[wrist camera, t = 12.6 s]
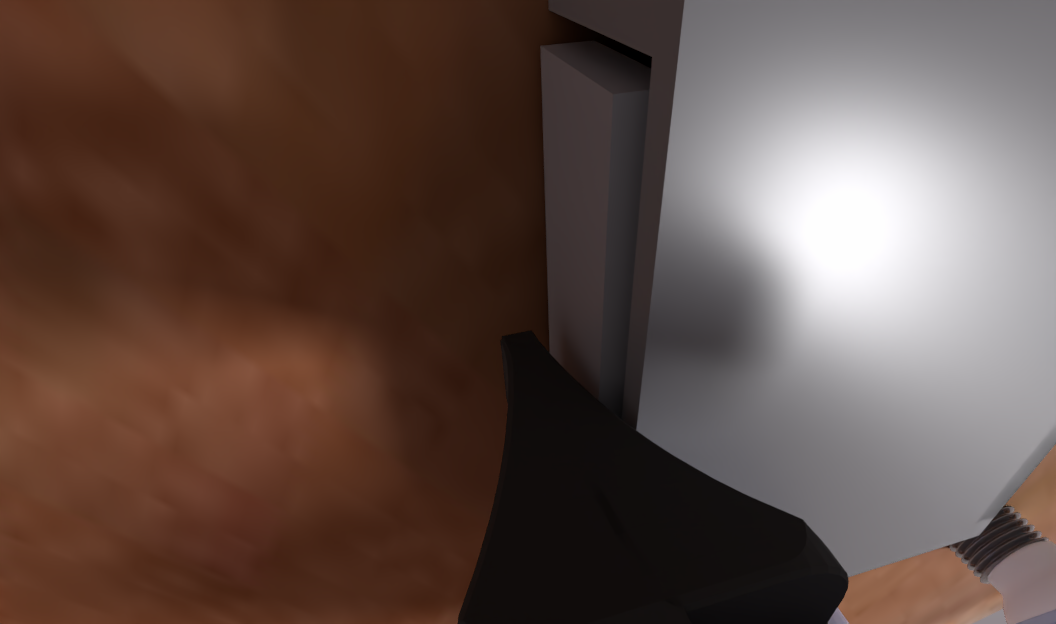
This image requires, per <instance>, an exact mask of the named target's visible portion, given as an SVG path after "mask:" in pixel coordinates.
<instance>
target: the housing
mask: <svg viewBox="0 0 1056 624" xmlns="http://www.w3.org/2000/svg"><path fill="white" fill-rule="evenodd" d="M548 1H549V11H552V12H554V13H556V14H558V15H560V16H563V17H565V18H567V19H569V20H572V21H574V22H576V23H578V24H580V25H583V26H585V27H587V28H589V29H591V30H594V31H596V32H598V33H600V34H602V35H605V36H607V37H609V38H611V39H613V40H616V41H618V42H620V43H622V44H625V45H627V46H629V47H631V48H633V49H636V50H638V51H640V52H642V53H644V54H647V55H649V56H651V57H652V67H651V78H650V90H649V102H648V113H647V125H646V137H645V149H644V160H643V172H642V184H641V196H640V207H639V219H638V231H637V243H636V254H635V266H634V278H633V290H632V301H631V313H630V325H629V336H628V348H627V360H626V372H625V383H624V395H623V407H622V420H623V421H624V422H626V423H627V424H628V425H630V426H631V427H632V428H634V429H635V430H636V431H638V432H639V433H641V434H642V435H644V436H645V437H646V438H648V439H649V440H651V441H652V442H654V443H655V444H657V445H658V446H660V447H661V448H663V449H664V450H666V451H667V452H669V453H670V454H672V455H674V456H675V457H677V458H679V459H681V460H682V461H684V462H686V463H687V464H689V465H691V466H693V467H694V468H696V469H698V470H700V471H701V472H703V473H705V474H707V475H708V476H710V477H712V478H714V479H716V480H718V481H720V482H722V483H724V484H726V485H728V486H729V487H731V488H733V489H735V490H737V491H739V492H741V493H744V494H746V495H748V496H750V497H752V498H755V499H757V500H759V501H762V502H764V503H766V504H768V505H771V506H773V507H775V508H778V509H780V510H782V511H785V512H787V513H789V514H792V515H794V516H796V517H799V518H801V519H803V520H804V521H805V522H806V524H807V525H808V526H809V527H810V528H811V529H812V530H813V531H814V533H815V534H816V535H817V536H818V537H819V538H820V539H821V540H822V541H823V542H824V544H825V545H826V546H827V547H828V549H829V550H830V551H831V552H832V554H833V555H834V557H835V558H836V559H837V561H838V562H839V563H840V564H841V566H842V567H843V568H844V570H845V571H846V572H847V574H848V577H850V576H854V575H857V574H860V573H863V572H866V571H869V570H872V569H876V568H879V567H882V566H885V565H888V564H891V563H894V562H897V561H901V560H904V559H907V558H910V557H913V556H916V555H919V554H923V553H926V552H929V551H932V550H935V549H938V548H941V547H945V546H948V545H951V544H954V543H957V542H960V541H963V540H967V539H970V538H973V537H976V536H979V535H980V534H981V533H982V531H983V530H984V529H985V528H986V527H987V525H988V524H989V523H990V522H991V521H992V519H993V518H994V517H995V516H996V515H997V513H998V512H999V511H1000V510H1001V509H1002V507H1003V506H1004V505H1005V504H1006V503H1007V501H1008V500H1009V499H1010V498H1011V497H1012V496H1013V494H1014V493H1015V492H1016V491H1017V490H1018V488H1019V487H1020V486H1021V485H1022V484H1023V482H1024V481H1025V480H1026V479H1027V478H1028V476H1029V475H1030V474H1031V473H1032V472H1033V470H1034V469H1035V468H1036V467H1037V466H1038V464H1039V463H1040V462H1041V461H1042V460H1043V458H1044V457H1045V456H1046V455H1047V454H1048V453H1049V451H1050V450H1051V449H1052V448H1053V447H1054V445H1055V444H1056V0H548Z"/></svg>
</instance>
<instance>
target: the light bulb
mask: <svg viewBox="0 0 1056 624" xmlns="http://www.w3.org/2000/svg"><path fill="white" fill-rule="evenodd" d="M1020 518H1021V514H1020V513H1018V512H1016V513H1014V508H1013V507H1004V508H1002V509H1001V510H1000V511H999V512H998V513H997V515H996V516H995V517H994V518H993V519H992V521H991V522H990V523H989V524H988V525H987V527H986V528H985V529H984V530H983V531H982V533H981V534H980V535H979V536H976V537H973V538H970V539H967V540H963V541H960V542H957V543H954V544H951V545H950V546H949V548H950V550H951V551H954V552H955V555H956V556H957V557H959V558H961V561H962V563H964V564H968V565H967V567H968V569H969V570H973V571H974V575H975V576H977V577H980V582H982V583H985V584H989V583H991V584H992V585H993V586H994V587H995V588H996V589H997V590H998V591H999V592H1000V593H1001V595H1002V596H1003V610H1004V614H1005V618H1006V622H1007V624H1016V623H1019V622H1021V621H1024V620H1027V619H1030V618H1032V617H1035V616H1038V615H1041V614H1044V613H1046V612H1049V611H1052V610H1055V609H1056V545H1055V544H1054V543H1053V542H1052V541H1049V539H1048V538H1046V537H1042V538H1040V537H1041V535H1042V533H1041V532H1040V531H1034V529H1035V526H1034V525H1027V523H1028V520H1027V519H1020Z"/></svg>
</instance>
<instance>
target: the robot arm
mask: <svg viewBox="0 0 1056 624" xmlns="http://www.w3.org/2000/svg"><path fill="white" fill-rule="evenodd" d="M501 349H502V359H503V369H504V379H505V389H506V398H507V402H508V413H507V424H506V436H505V444H504V451H503V458H502V464H501V470H500V475H499V480H498V485H497V490H496V494H495V499H494V504H493V508H492V512H491V516H490V520H489V524H488V527H487V530H486V534H485V537H484V541H483V544H482V548H481V551H480V555H479V558H478V562H477V565H476V568H475V571H474V574H473V577H472V579H471V582H470V585H469V588H468V591H467V594H466V596H465V599H464V602H463V605H462V608H461V610H460V613H459V617H458V624H849V623H848V621H847V620H846V619H845V617H844V616H843V614H842V613H841V611H840V610H839V609H838V606H839V604H840V602H841V601H842V599H843V598H844V595H845V593H846V591H847V589H848V574H847V572H846V571H845V570H844V568H843V567H842V566H841V564H840V563H839V562H838V561H837V559H836V558H835V557H834V555H833V554H832V552H831V551H830V550H829V549H828V547H827V546H826V545H825V544H824V542H823V541H822V540H821V539H820V538H819V537H818V536H817V535H816V534H815V533H814V531H813V530H812V529H811V528H810V527H809V526H808V525H807V524H806V522H805V521H804V520H803V519H801V518H799V517H796V516H794V515H792V514H789V513H787V512H785V511H782V510H780V509H778V508H775V507H773V506H771V505H768V504H766V503H764V502H762V501H759V500H757V499H755V498H752V497H750V496H748V495H746V494H744V493H741V492H739V491H737V490H735V489H733V488H731V487H729V486H728V485H726V484H724V483H722V482H720V481H718V480H716V479H714V478H712V477H710V476H708V475H707V474H705V473H703V472H701V471H700V470H698V469H696V468H694V467H693V466H691V465H689V464H687V463H686V462H684V461H682V460H681V459H679V458H677V457H675V456H674V455H672V454H670V453H669V452H667V451H666V450H664V449H663V448H661V447H660V446H658V445H657V444H655V443H654V442H652V441H651V440H649V439H648V438H646V437H645V436H644V435H642V434H641V433H639V432H638V431H636V430H635V429H634V428H632V427H631V426H630V425H628V424H627V423H626V422H624V421H623V420H622V419H621V418H619V417H618V416H617V415H615V414H614V413H613V412H612V411H611V410H609V409H608V408H607V407H606V406H605V405H603V404H602V403H601V402H600V401H599V400H597V399H596V398H595V397H594V396H593V395H592V394H591V393H589V392H588V391H587V390H586V389H585V388H584V387H583V386H582V385H581V384H580V383H579V382H578V381H577V380H576V379H575V378H573V377H572V376H571V375H570V374H569V373H568V372H567V371H566V370H565V369H564V368H563V367H562V366H561V365H560V364H559V363H558V362H557V360H556V359H555V358H554V357H553V356H552V355H551V354H550V353H549V352H548V351H547V350H546V349H545V347H544V346H543V345H542V344H541V343H540V342H539V341H538V339H537V338H536V336H535V335H534V333H533V332H532V331H526V332H521V333H516V334H511V335H506V336H502V340H501ZM1016 624H1056V609H1055V610H1052V611H1049V612H1046V613H1044V614H1041V615H1038V616H1035V617H1032V618H1030V619H1027V620H1024V621H1021V622H1019V623H1016Z"/></svg>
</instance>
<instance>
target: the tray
mask: <svg viewBox="0 0 1056 624" xmlns="http://www.w3.org/2000/svg"><path fill="white" fill-rule="evenodd" d="M540 47H541V81H542V114H543V147H544V180H545V213H546V247H547V280H548V313H549V346H550V354H551V355H552V356H553V357H554V358H555V359H556V360H557V362H558V363H559V364H560V365H561V366H562V367H563V368H564V369H565V370H566V371H567V372H568V373H569V374H570V375H571V376H572V377H573V378H575V379H576V380H577V381H578V382H579V383H580V384H581V385H582V386H583V387H584V388H585V389H586V390H587V391H588V392H589V393H591V394H592V395H593V396H594V397H595V398H596V399H597V400H599V401H600V402H601V403H602V404H603V405H605V406H606V407H607V408H608V409H609V410H611V411H612V412H613V413H614V414H615V415H617V416H618V417H619V418H621V419H622V407H623V395H624V383H625V372H626V360H627V348H628V336H629V325H630V313H631V301H632V290H633V278H634V266H635V254H636V243H637V231H638V219H639V207H640V196H641V184H642V172H643V160H644V149H645V137H646V125H647V113H648V102H649V90H650V78H651V68H649V67H647V66H645V65H643V64H641V63H639V62H637V61H635V60H633V59H631V58H629V57H627V56H625V55H623V54H621V53H619V52H617V51H615V50H613V49H611V48H609V47H607V46H605V45H603V44H601V43H599V42H596V41H594V40H592V41H582V42H573V43H563V44H554V45H544V46H540Z"/></svg>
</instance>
